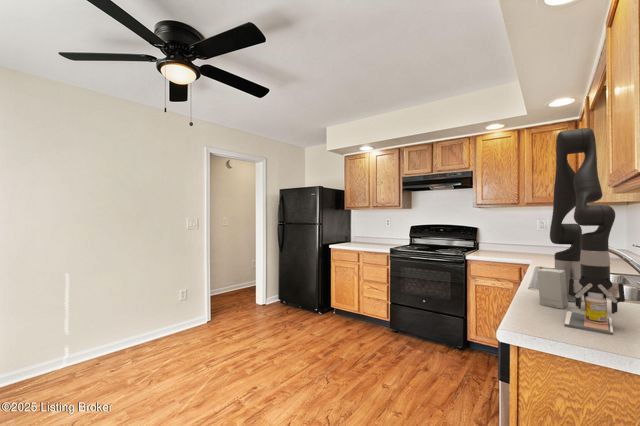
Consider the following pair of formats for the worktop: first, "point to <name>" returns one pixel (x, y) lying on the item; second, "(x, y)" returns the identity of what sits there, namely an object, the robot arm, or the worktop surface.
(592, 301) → the supplement bottle
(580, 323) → the mat
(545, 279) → the skincare box
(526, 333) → the worktop surface
